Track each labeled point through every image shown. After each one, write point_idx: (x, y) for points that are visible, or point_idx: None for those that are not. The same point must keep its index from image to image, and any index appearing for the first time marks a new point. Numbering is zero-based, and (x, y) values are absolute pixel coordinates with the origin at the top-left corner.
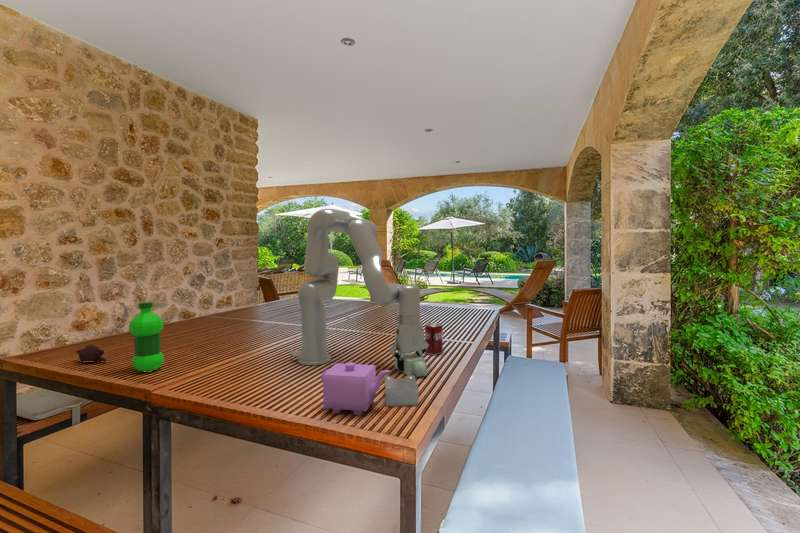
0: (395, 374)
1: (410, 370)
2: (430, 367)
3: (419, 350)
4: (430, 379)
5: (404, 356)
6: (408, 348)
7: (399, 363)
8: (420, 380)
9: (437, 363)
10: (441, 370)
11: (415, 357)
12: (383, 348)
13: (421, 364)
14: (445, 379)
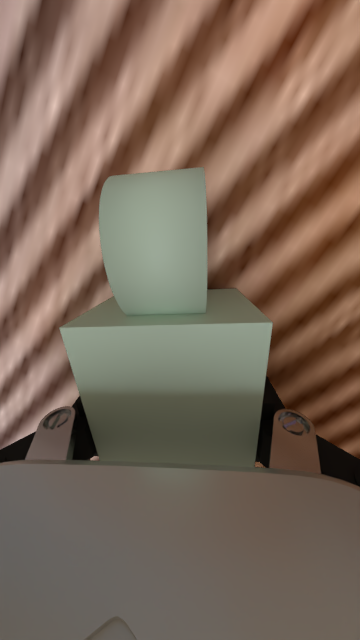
0: (285, 350)
1: (229, 296)
2: (56, 355)
3: (44, 461)
4: (135, 147)
5: (212, 460)
6: (277, 572)
7: (278, 397)
8: (212, 164)
9: (3, 387)
10: (7, 284)
11: (134, 400)
12: None
13: (162, 193)
14: (24, 81)
